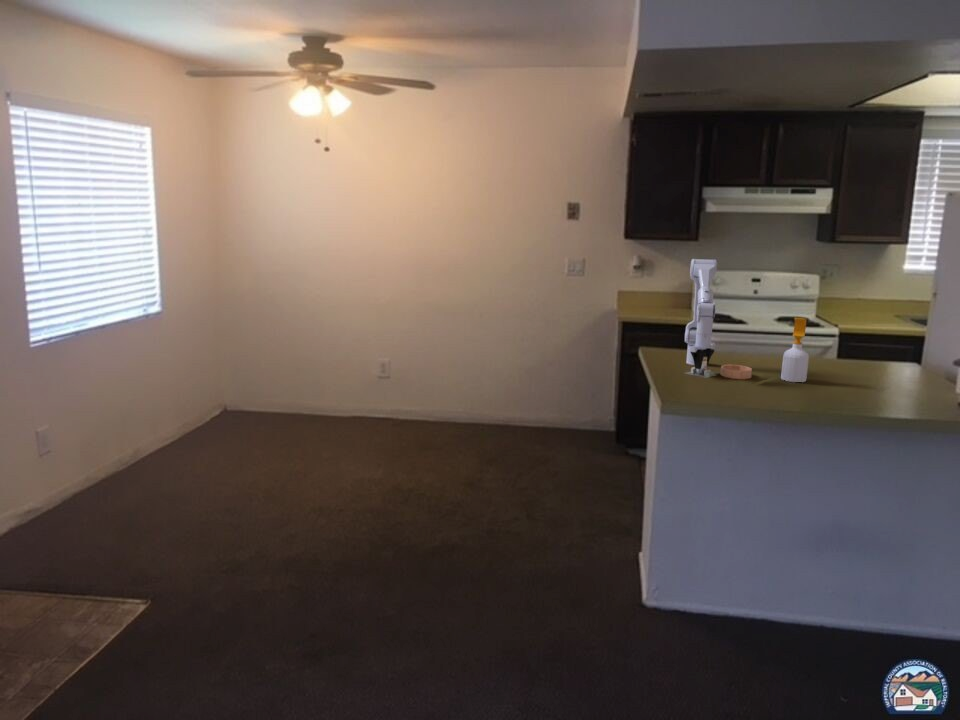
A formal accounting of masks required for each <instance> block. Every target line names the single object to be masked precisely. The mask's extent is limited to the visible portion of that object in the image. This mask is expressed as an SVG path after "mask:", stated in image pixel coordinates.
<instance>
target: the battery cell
mask: <svg viewBox="0 0 960 720" xmlns="http://www.w3.org/2000/svg"><path fill="white" fill-rule="evenodd" d="M706 366H707V356H704V358H703V361H702V366H701V369H695V374H697V375H704V371H705V370H707V368H706ZM707 367H708V366H707Z"/></svg>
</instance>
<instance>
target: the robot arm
mask: <svg viewBox="0 0 960 720" xmlns="http://www.w3.org/2000/svg"><path fill="white" fill-rule="evenodd" d="M689 267H690V269H689V276H690V279H691V280H692V281H694V286H695V288H694V302H693V304H694V306H693V318H692V319H693V320H692V321H690V322H688V323H687V324H686V326H685V332H684V343H686V344H687V348H686V349H687V351H686V364H688V365H692V366H694V367H695V369H701V366H702V361H703V358H704V356H707V366H706V369H707V368H708V365H709V364H710V363H709V362H710V359H711V358H712V356H713V355H714V353H715V346H716V343H715V342H712V335H713V334H712V333H713V322H714V318H715V315H716V309H717V307H716V302H715V300H714V291H713V289H712V288H711V281H713V280H714V278H715V276H716V274H717V269H718V268H717V267H718V261H717V260H716V259H703V258H702V259H701V258H700V259H698V258H697V259H696V258H692V259H691V261H690V266H689Z"/></svg>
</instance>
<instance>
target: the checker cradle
mask: <svg viewBox="0 0 960 720" xmlns="http://www.w3.org/2000/svg"><path fill="white" fill-rule="evenodd" d="M684 374H687V375H689V376H695V377H701V378H705V379H707V378H711V377H715V376H717V374H716V373H715V371H711V369H706V370H705V371H704V375H697V374H695V366H694V367H693V366H692V367H691V368H690V371H686V372H684Z"/></svg>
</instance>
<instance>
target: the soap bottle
mask: <svg viewBox="0 0 960 720" xmlns="http://www.w3.org/2000/svg"><path fill="white" fill-rule="evenodd" d="M793 320H794V324H793V325H794V326H793V333H792V337H793V338H794V339H795V341H792V347H791V348H789V349H787V350H784V353H783V356H782V365H781V373H780V374H781V375H780V379H781V380H782V381H784V380H785V381H784V382H788V383H795V382H802V383H805V382H806V381H807V377H808V368H809V360H810V356H809V353H808V352H807V351H806V350H804V349H803V342H802V341H801V340H802V339H803V338H805V335H806V328H807V318H803V317H794V319H793Z"/></svg>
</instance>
